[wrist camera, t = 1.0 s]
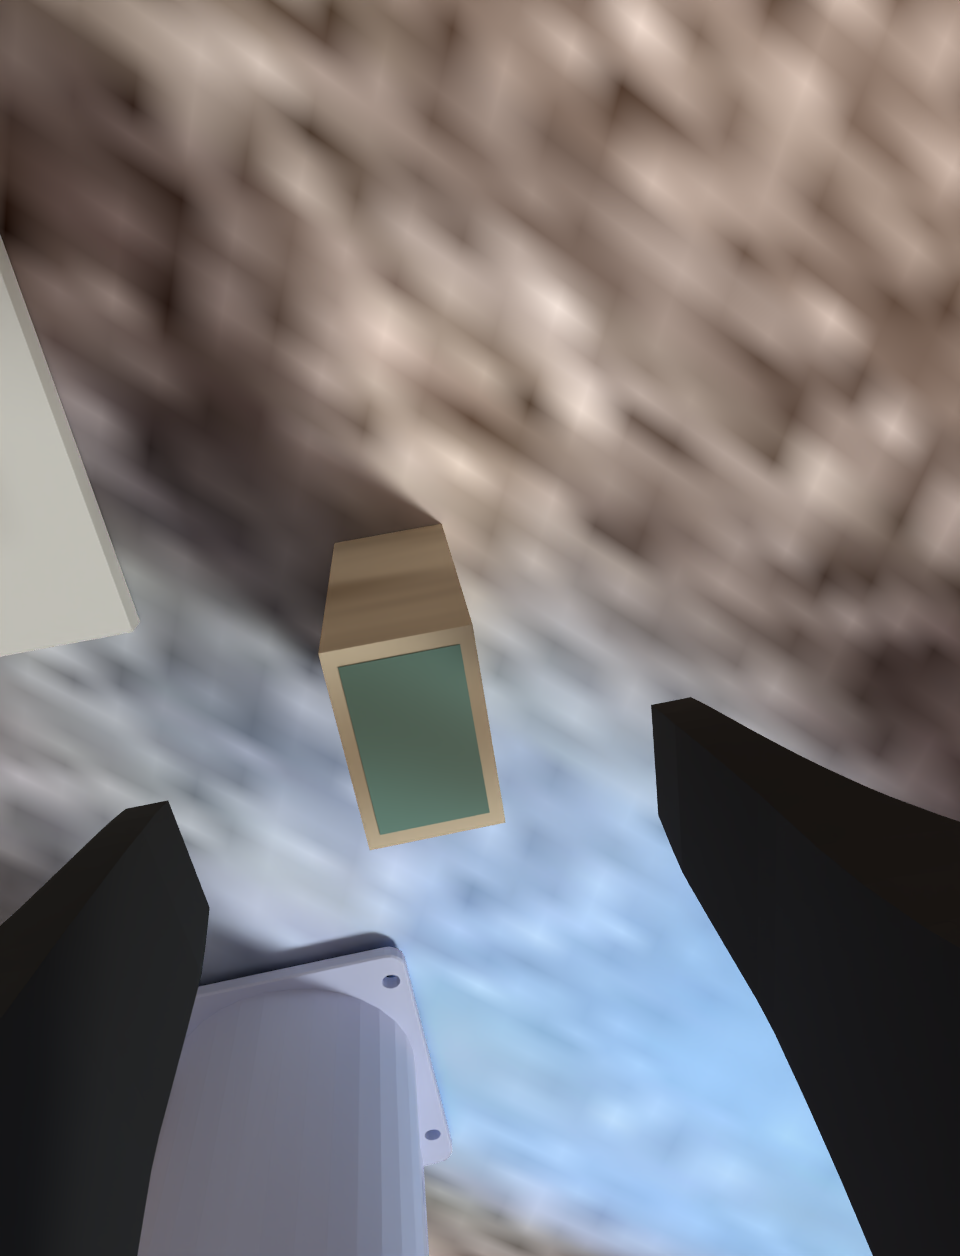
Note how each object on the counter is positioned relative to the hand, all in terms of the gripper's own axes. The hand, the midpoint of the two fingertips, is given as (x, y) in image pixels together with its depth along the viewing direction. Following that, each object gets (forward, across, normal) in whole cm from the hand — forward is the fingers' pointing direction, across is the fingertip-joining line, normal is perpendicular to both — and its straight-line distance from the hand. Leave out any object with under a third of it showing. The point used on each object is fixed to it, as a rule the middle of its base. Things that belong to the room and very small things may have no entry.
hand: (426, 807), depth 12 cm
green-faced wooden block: (+8, 0, 0) cm, 8 cm away
